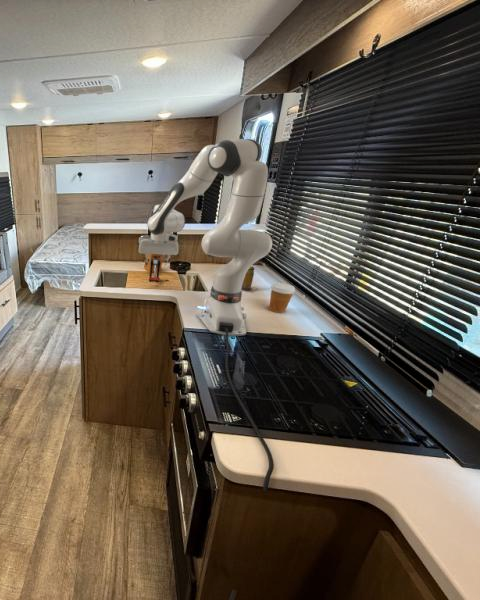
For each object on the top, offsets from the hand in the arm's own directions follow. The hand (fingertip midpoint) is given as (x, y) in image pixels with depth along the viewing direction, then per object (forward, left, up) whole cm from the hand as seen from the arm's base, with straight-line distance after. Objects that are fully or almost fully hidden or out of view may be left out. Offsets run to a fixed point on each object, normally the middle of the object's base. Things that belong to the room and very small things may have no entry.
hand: (156, 262), depth 162 cm
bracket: (+10, 0, -15) cm, 18 cm away
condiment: (+10, -50, -16) cm, 53 cm away
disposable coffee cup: (-17, -56, -16) cm, 60 cm away
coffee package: (+30, 0, -16) cm, 34 cm away
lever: (+7, 0, -7) cm, 10 cm away
